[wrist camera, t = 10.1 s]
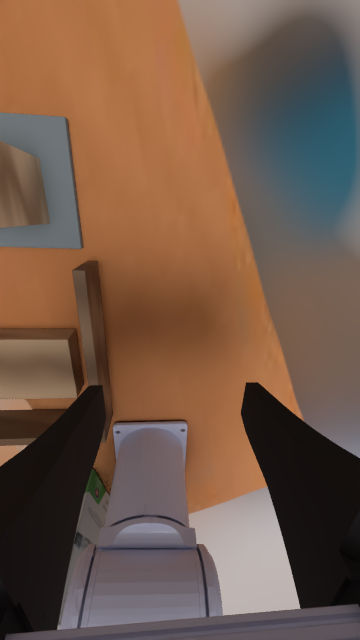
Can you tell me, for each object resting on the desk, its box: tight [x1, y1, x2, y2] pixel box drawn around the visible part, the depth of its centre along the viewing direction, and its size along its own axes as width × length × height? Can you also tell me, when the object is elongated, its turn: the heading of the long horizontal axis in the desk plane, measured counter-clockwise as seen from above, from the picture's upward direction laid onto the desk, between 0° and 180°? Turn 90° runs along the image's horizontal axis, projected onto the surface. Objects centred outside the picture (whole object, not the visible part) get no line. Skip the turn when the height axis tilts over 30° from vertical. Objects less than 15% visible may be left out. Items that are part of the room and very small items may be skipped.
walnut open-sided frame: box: [0, 261, 113, 446], centre depth 20 cm, size 16×14×4 cm
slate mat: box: [0, 113, 83, 249], centre depth 17 cm, size 8×8×1 cm
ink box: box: [57, 469, 110, 630], centre depth 25 cm, size 9×5×12 cm, turn 12°
